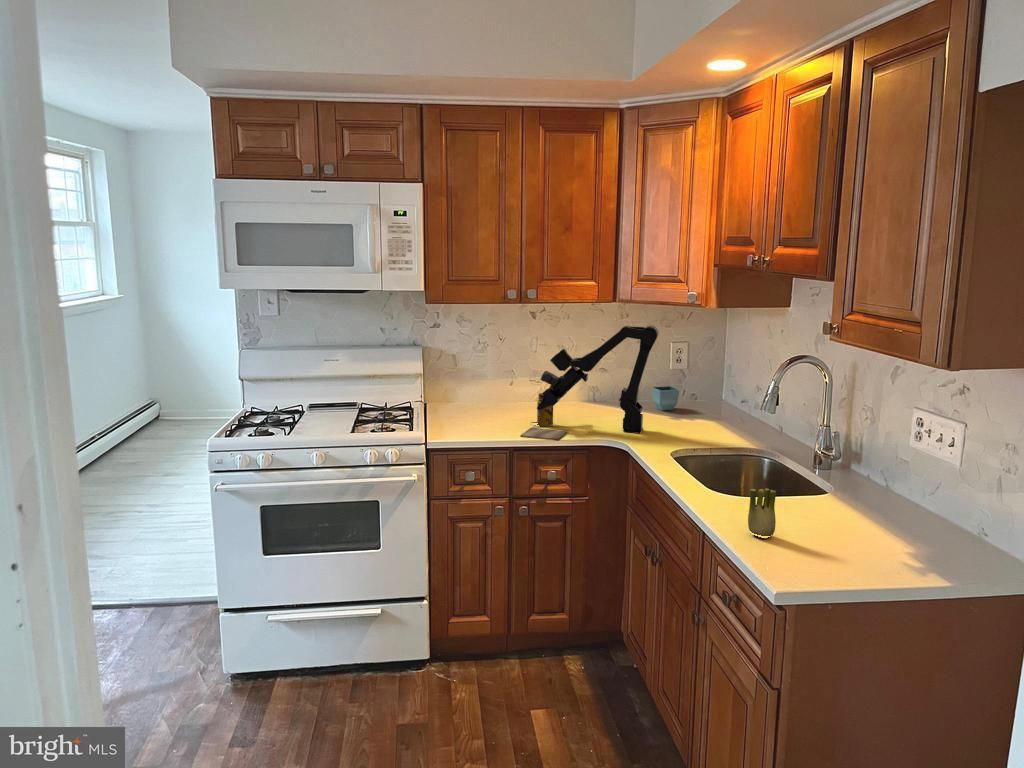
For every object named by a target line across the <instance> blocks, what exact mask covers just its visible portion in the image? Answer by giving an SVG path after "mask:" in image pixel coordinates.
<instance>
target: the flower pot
mask: <svg viewBox="0 0 1024 768" xmlns="http://www.w3.org/2000/svg"><path fill="white" fill-rule="evenodd" d="M651 393H652V400H653V403H654V405H655V407H656V409H658V410H660V411H662V410H663V411H673V410H674V409H675V407H677V404H678V401H679V396H680V389H678V388H676V387H674V386H672V385H671V386H669V385H665V386H652V387H651Z"/></svg>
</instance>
